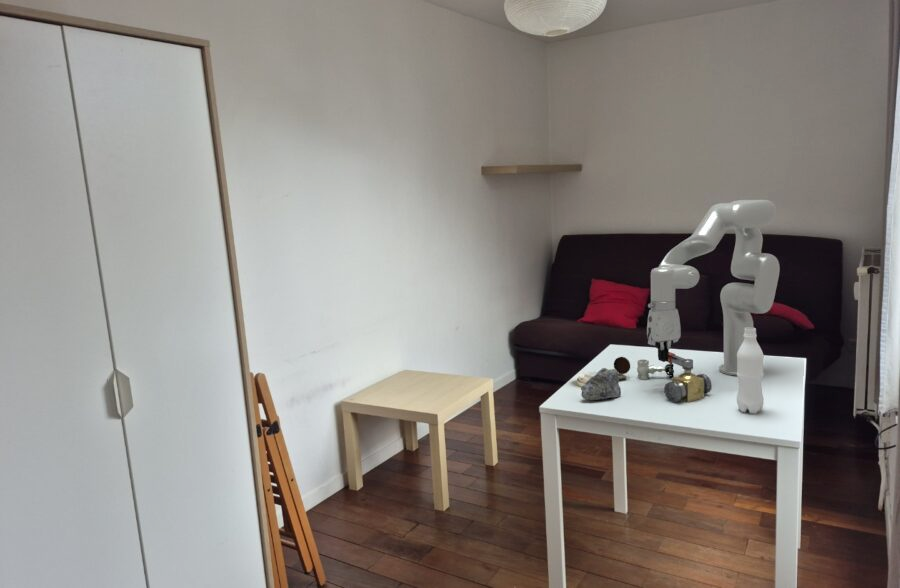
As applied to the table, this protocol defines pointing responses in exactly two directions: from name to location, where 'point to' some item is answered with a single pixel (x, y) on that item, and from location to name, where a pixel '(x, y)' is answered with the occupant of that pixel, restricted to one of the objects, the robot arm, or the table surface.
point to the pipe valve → (687, 387)
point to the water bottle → (750, 373)
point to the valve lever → (680, 361)
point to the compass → (622, 367)
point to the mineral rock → (602, 385)
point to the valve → (652, 369)
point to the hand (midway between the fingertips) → (663, 360)
